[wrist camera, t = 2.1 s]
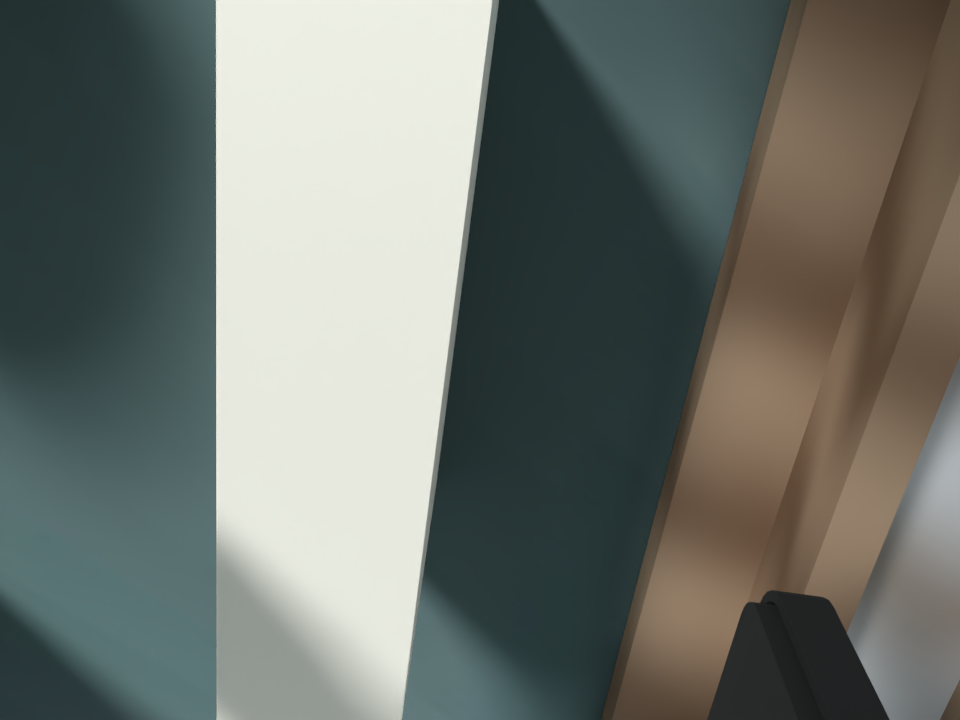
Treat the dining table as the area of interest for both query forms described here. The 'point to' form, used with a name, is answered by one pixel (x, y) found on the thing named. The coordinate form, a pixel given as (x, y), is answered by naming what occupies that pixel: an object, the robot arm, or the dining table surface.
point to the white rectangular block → (335, 335)
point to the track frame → (824, 378)
